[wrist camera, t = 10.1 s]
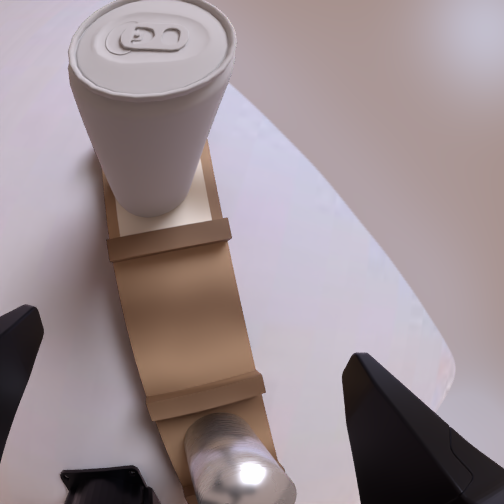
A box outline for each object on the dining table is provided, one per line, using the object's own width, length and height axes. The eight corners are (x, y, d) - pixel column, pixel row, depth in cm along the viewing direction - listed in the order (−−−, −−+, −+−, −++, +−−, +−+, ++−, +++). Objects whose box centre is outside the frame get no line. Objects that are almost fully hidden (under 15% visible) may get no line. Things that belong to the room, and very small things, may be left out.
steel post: (195, 475, 16) (216, 542, 9) (174, 422, 16) (186, 486, 9) (259, 457, 17) (302, 515, 11) (244, 404, 18) (288, 456, 11)
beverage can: (118, 145, 17) (93, -9, 5) (192, 148, 18) (243, -3, 7) (109, 219, 16) (38, 106, 5) (188, 221, 18) (241, 111, 6)
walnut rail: (273, 463, 19) (287, 480, 16) (186, 487, 17) (190, 508, 14) (199, 124, 20) (205, 104, 18) (103, 138, 18) (97, 119, 16)
